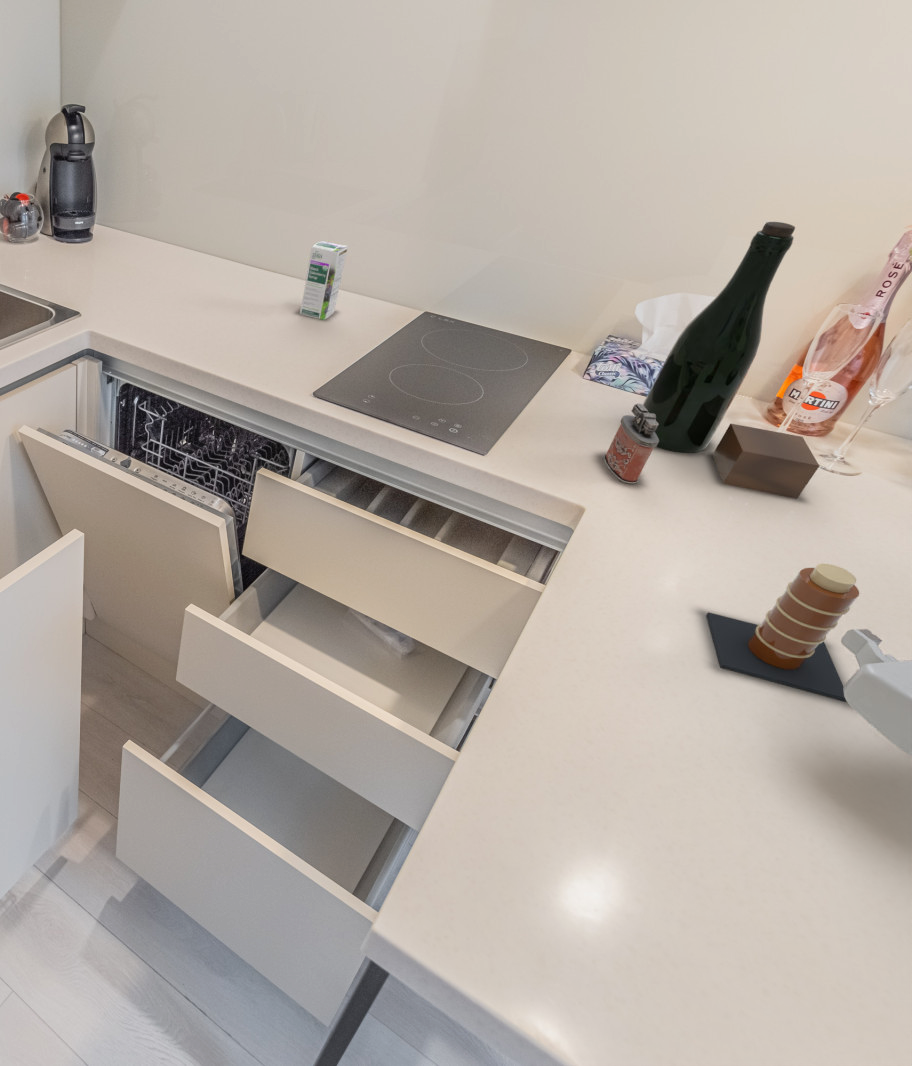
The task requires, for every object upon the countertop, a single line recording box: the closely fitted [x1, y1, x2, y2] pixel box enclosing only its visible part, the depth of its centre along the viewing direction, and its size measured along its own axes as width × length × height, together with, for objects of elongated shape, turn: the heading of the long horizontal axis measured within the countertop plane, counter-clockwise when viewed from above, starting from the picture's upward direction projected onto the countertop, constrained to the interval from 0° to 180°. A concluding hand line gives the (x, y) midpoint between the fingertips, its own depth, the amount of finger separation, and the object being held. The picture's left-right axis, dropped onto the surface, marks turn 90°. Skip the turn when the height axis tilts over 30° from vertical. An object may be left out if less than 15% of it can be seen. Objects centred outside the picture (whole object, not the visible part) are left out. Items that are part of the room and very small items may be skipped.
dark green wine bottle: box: [641, 221, 796, 454], centre depth 111 cm, size 10×10×33 cm
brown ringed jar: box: [748, 563, 860, 670], centre depth 78 cm, size 5×5×11 cm
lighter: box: [602, 403, 659, 486], centre depth 109 cm, size 8×3×10 cm, turn 171°
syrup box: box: [299, 240, 349, 321], centre depth 157 cm, size 6×6×14 cm
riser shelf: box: [712, 423, 820, 500], centre depth 110 cm, size 9×9×6 cm
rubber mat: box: [706, 611, 848, 703], centre depth 82 cm, size 11×9×1 cm
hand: (897, 630), depth 70 cm, fingers open, 8 cm apart
